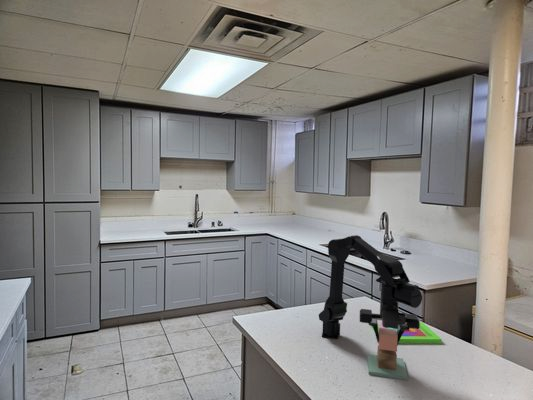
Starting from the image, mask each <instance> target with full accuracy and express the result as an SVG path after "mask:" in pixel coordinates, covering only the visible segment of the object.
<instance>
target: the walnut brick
mask: <svg viewBox="0 0 533 400" xmlns="http://www.w3.org/2000/svg"><path fill="white" fill-rule="evenodd" d="M376 355H377V361H378V368H384V369H391V370H396V362H397V358H398V355H397V351H390V350H382V349H379V345H378V344H377V354H376Z"/></svg>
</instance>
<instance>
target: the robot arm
mask: <svg viewBox="0 0 533 400" xmlns="http://www.w3.org/2000/svg"><path fill="white" fill-rule="evenodd" d="M351 249H353V250H354V251H356V253H358V255H360V256H362V257H363V258H365V260H367V261H368V262H370V264H372V266H373V267H374V270H375V272H376V273H377V274H378V275H379V277H378V278H376V279H375V281H376V282H377V283H379V284H380V303H379V304H380V305H379V313H373V311H372V309H366V308H361V309H359V323H363V324H368V326H370V327H371V326H372V327H373V328H372V327H371V328H372V330H373V329H374V330H373V331H374V335H375V338H376V343H379V333H378V324H379V323H378V321H381V322H382V326H383V327H385V328H394V329H397V336H398V339H397V346H398V344H400V343H399V340H400V338H401V336H402V334H403V333H404V331H406V330H409V329H410V328H413V329H420V322H421V321H420V319H419V317H418V316H417V315H416V314H413V313H412V314H411V313H405V312H400V311H399V303H400V304H403V305H406V306H408V307H411V308H413V309H417V308H419V306H421V303H422V301H423V294H422V292H421V290H420V289H419V285H417V284H411V283H410V282H411V281H410V279H409V277H408V275H407V273H406V271H405V269H404V267H403V263H402V262H401V261H400V260H399V259H396V258H394V257H392V256H388V255H386V254H382V252H380V251H379V250H378V249H376V248H375V247H373V246H372V244H370V243H368V242H367V241H366V240H364V239H363V238H362V237H361V236H360V235H357V234H355V235H349V236H346V237H344V238H334V239H333V238H332V239H331V240H330V241H328V243H327V251H328V252H327V253H328V256H329V258H330V260H331V269H330V279H329V281H330V284H329V296H328V297H327V299H326V300H325V302H324V306H323V310H322V311H320V313H318V320H319V321H321V322H322V333H321V337H322V338H328V339H337V340H338V339H339V337H340V335H341V323H340V321H343V320H344V317H345V316H346V314H347V312H348V309H347V307H348V302H345V299H344V298H343V289H344V274H345V263H346V261H347V259H348V258H349V256H350V251H351Z"/></svg>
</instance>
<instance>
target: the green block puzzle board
mask: <svg viewBox="0 0 533 400" xmlns="http://www.w3.org/2000/svg"><path fill="white" fill-rule="evenodd" d="M370 327H371V328H372V330H373V331H374V329H373V327H372V326H370ZM379 328H385V327H383V326H382V321H381V323H380V324H379V323H378V331H379ZM387 329H394V328H387ZM395 330H396V332H397V329H395ZM442 340H443V339H442V338H441V337H440V336H439V335H438V334H437V333H435V332H434V331H433V330H432V329H431V328H430V327H428V326H427V325H426V324H425V323H424V322H421V321H420V328H419V329H413V328H410V329H409V330H406V331H404V333H403V334H402V336H401V338H400V340H399V343H398V344H442V343H443V341H442Z"/></svg>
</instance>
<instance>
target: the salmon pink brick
mask: <svg viewBox="0 0 533 400" xmlns="http://www.w3.org/2000/svg"><path fill="white" fill-rule="evenodd" d="M378 333H379V343H378V342H377V343H378V344H377V346H378V345H379V349H382V350H390V351H396V352H397V351H398V345H397V339H398V336H397V332H396V330H395V329H387V328H379V331H378Z"/></svg>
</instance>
